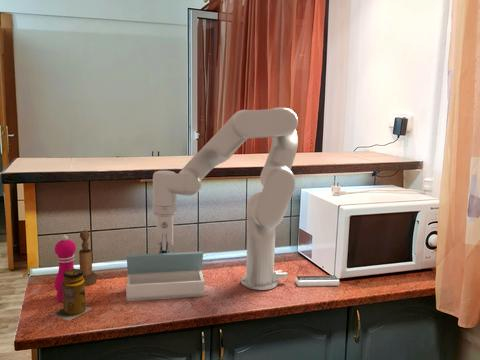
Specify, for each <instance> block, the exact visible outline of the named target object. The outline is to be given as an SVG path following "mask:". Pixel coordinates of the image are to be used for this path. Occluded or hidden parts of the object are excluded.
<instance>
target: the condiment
mask: <svg viewBox="0 0 480 360" xmlns="http://www.w3.org/2000/svg"><path fill="white" fill-rule="evenodd" d="M63 276H64V278H63V282H62V290H63V302H62V307H63V308H61V309H59V310H57V311H55V312H53V313H51V314H50V315H51V316H53V317H56V318H59V319H61V320H66V321H68V322H70V321H72V320H74V319H75V318H76V319H77V318H78V317H80V316H82V315H83V314H85V313H87V312H89V311H90V310H92V309H93V307H89V306H86V286H85V281H84V279H83V271H82V270H80V268H74V269H71V270H67V271H65V272H64V274H63Z"/></svg>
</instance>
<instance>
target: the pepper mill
mask: <svg viewBox="0 0 480 360" xmlns="http://www.w3.org/2000/svg"><path fill="white" fill-rule="evenodd" d="M76 246H77V245H76V243H75V242H74V241H73V240H71V239H69V237H68V235H66V234H65V235H62V236H61V240H59V241H58V242H56V244H55V246H54V253H55V255H57V256H56V262H58V272H57V274H56V276H55V280H54V282H53V283H54V286H53V287H54V289H55V291H57V292H56V293H55V294H56V300H57V301H59V302H61V303H63V290H62V282H63V278H64V276H63V274H64V272H65V271H67V270H71V269H75V267H74V261H75V256H76V255H75V253H76V250H77V247H76Z"/></svg>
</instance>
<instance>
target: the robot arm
mask: <svg viewBox="0 0 480 360" xmlns="http://www.w3.org/2000/svg"><path fill="white" fill-rule="evenodd" d="M298 125H299V118H298V116H297V114H296V112H294V111H293V110H292V109H291V108H288V107H273V108H269V109H241V110H238V111H236V112H234V114H232V116H231V117H230V118H229V119H228V120H227V121H226V122H225V124H223V126H221V128H219V130H218V131H217V132H216V133H215V134H214V135H213V136H212V137H211V138H210V139H209V140H208V142H207V143H205V145H203V147H202V148H201V149H200V150H199V151H198V152H196V154H195V155H194V156H193V157H191V159H190V160H189V161H187V163H186V164H185V166H183V168H182V169H181V170H180V171H179V172H178V173H176V172H175V171H171V170H158V171H157V170H156V171H154V173H153V175H152V215H154V216H155V217H156V239H157V245H158V247H159V253H170V249H169V248H170V247H172V246H174V216H175V215H177V201H178V200H177V197H178V196H179V195H180V196H186V197H187V196H188V197H189V196H190V197H191V196H194V195H196V194H198V193H199V192H200V191H201V188H202V182H201V181H202V180H203V179H204V178H205V177H206V176H207V175H208V174H209V173H210V172H211V171H212V170H213V169H215V167H217V166H219V165H220V164H223V163H225V162H226V161H228V160H230V159H231V157H232V156H233V155H234V154H235V153H236V151H237V150H239V148H240V147H241V146H242V145H244V143H245V142H247V140H248V139H264V138H271V146H270V150H269V152H268V155H267V157H266V159H265V160H266V161H265V163H264V166H263V168H262V169H261V172H260V177H259V178H260V179H259V180H260V183H261V185H262V190H261V191H260V192H256V193H254V194H252V195H251V196H250V197H249V199H248V201H247V204H246V220H247V221H246V223H247V225H246V227H247V229H246V231H247V235H246V261H245V262H246V267H245V268H246V269H245V275H243V276H242V277H241V280H240V282H241V285H243V286H244V287H245V288H248V289H251V290H254V291H255V290H256V291H268V290H271V289H274V288H276V287H277V286H278V283H279V279H287V278H288V272H287V271H285V272H283V271H282V270H281V269H280V270H275V254H276V252H275V250H276V249H275V248H276V227H277V226H278V225H280V223H281V222H282V220H283V219H284V216H285V214H286V212H287V209H288V206H289V203H290V201H291V199H292V197H293V194H294V190H295V187H296V177H295V174H294V173H293V171H292V168H293V164H294V161H295V158H296V154H297V151H298V147H299V138H298V134H297V133H298V132H297V130H296V129H297V128H298ZM177 195H178V196H177ZM169 246H170V247H169Z"/></svg>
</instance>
